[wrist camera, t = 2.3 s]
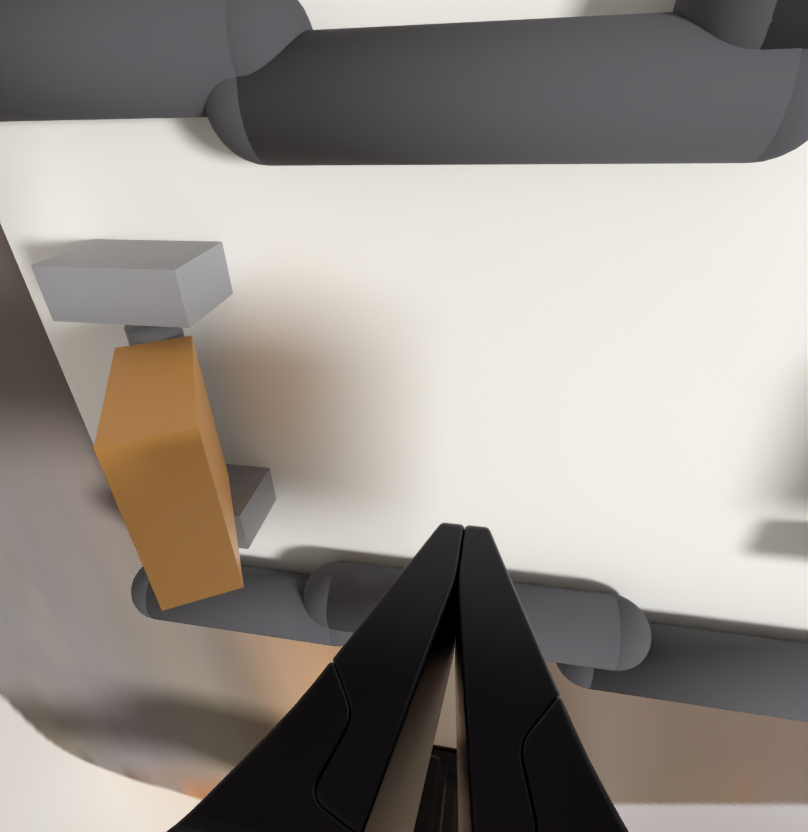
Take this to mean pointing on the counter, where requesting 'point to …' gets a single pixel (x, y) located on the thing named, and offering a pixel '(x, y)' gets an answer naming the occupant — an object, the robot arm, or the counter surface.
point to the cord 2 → (553, 628)
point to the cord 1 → (423, 81)
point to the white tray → (458, 343)
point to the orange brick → (168, 467)
